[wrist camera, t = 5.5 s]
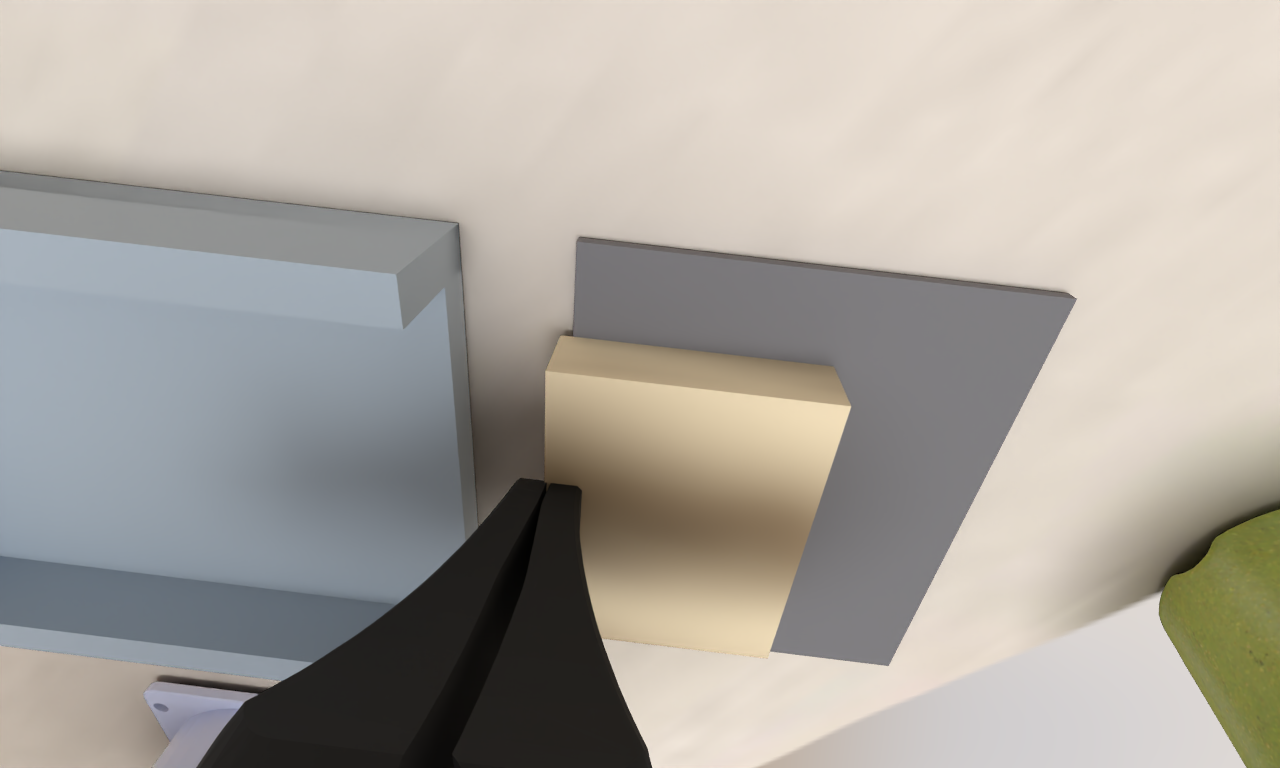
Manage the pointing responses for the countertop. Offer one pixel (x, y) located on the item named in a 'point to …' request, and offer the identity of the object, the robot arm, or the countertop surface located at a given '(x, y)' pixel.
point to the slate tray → (222, 423)
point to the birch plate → (690, 484)
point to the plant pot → (1234, 634)
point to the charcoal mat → (880, 405)
